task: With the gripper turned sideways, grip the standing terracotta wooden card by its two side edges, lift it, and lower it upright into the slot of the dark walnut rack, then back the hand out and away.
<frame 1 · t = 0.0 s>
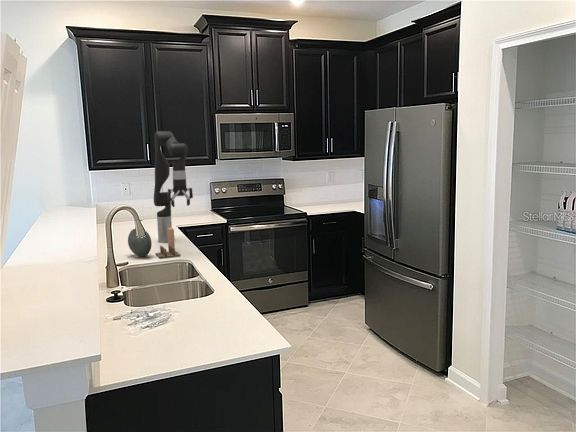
hand: (180, 206, 282), 29 cm above the counter, tool pointing down, fingers open, 8 cm apart
walnut rack: (167, 255, 286), on the counter
terracotta card: (171, 250, 298), on the counter
dark green ellipsoid: (140, 256, 285), on the counter
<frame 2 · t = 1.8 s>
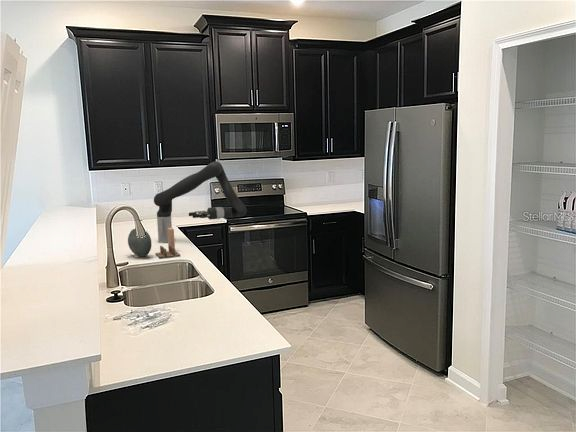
hand: (190, 215, 301), 21 cm above the counter, tool horizontal, fingers open, 8 cm apart
nothing on the counter moved.
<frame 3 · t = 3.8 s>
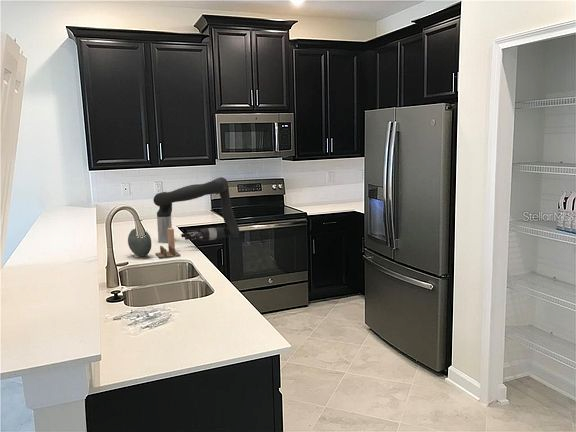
hand: (183, 236, 301), 8 cm above the counter, tool horizontal, fingers open, 8 cm apart
nothing on the counter moved.
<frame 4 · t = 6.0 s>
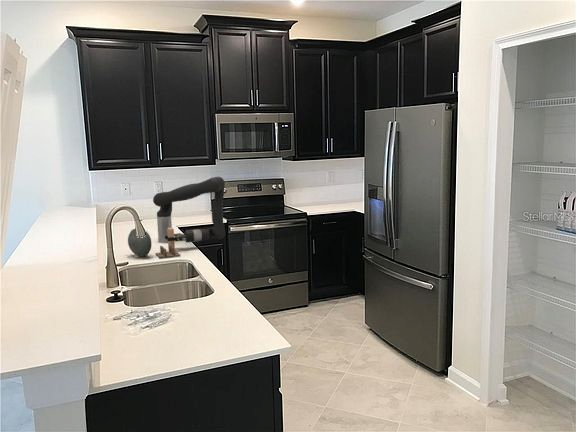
hand: (166, 238, 296), 8 cm above the counter, tool horizontal, fingers closed on terracotta card, 6 cm apart
terracotta card: (171, 250, 298), on the counter, touching gripper
everything else where it was.
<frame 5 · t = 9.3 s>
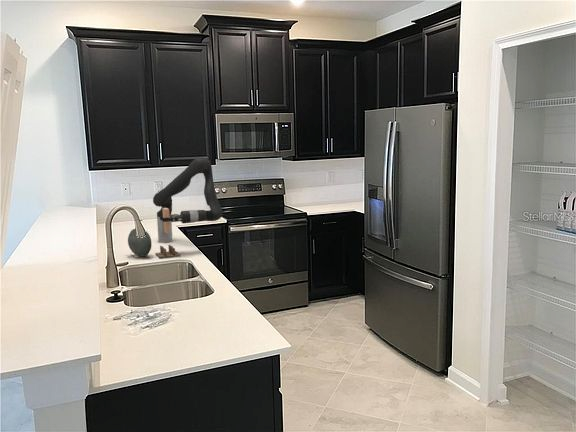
hand: (161, 219, 282), 22 cm above the counter, tool horizontal, fingers closed on terracotta card, 6 cm apart
terracotta card: (167, 232, 284), point 14 cm above the counter, touching gripper
everything else where it was.
when the fingers open (10 cm above the counter, at t = 12.6 s): terracotta card drops 1 cm, resting on walnut rack.
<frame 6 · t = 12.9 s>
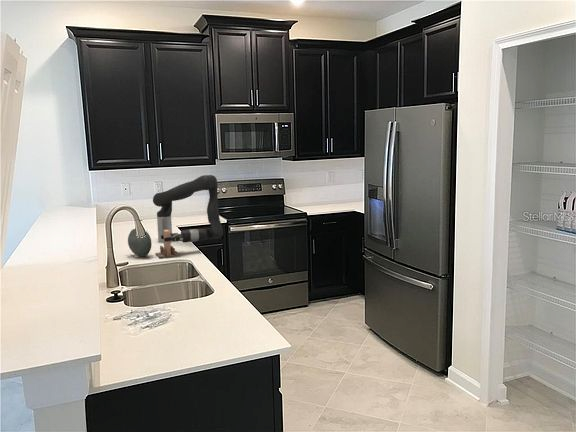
hand: (162, 238, 284), 10 cm above the counter, tool horizontal, fingers open, 8 cm apart
terracotta card: (167, 253, 286), point 1 cm above the counter, touching walnut rack
everything else where it was.
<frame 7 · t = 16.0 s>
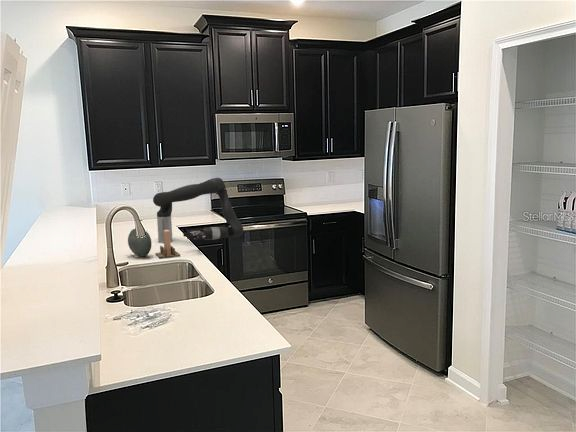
hand: (185, 236, 290), 11 cm above the counter, tool horizontal, fingers open, 8 cm apart
nothing on the counter moved.
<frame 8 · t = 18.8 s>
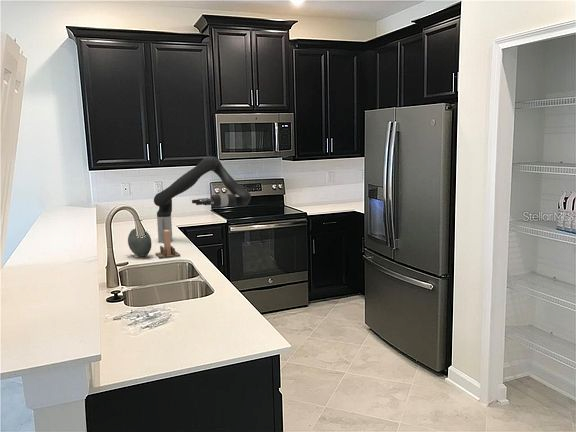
hand: (194, 202, 292), 30 cm above the counter, tool horizontal, fingers open, 8 cm apart
nothing on the counter moved.
at the end: terracotta card 0.1 cm off-centre on the walnut rack, point 1.0 cm above the walnut rack's base; terracotta card tilted 0°; the gripper is holding nothing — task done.
